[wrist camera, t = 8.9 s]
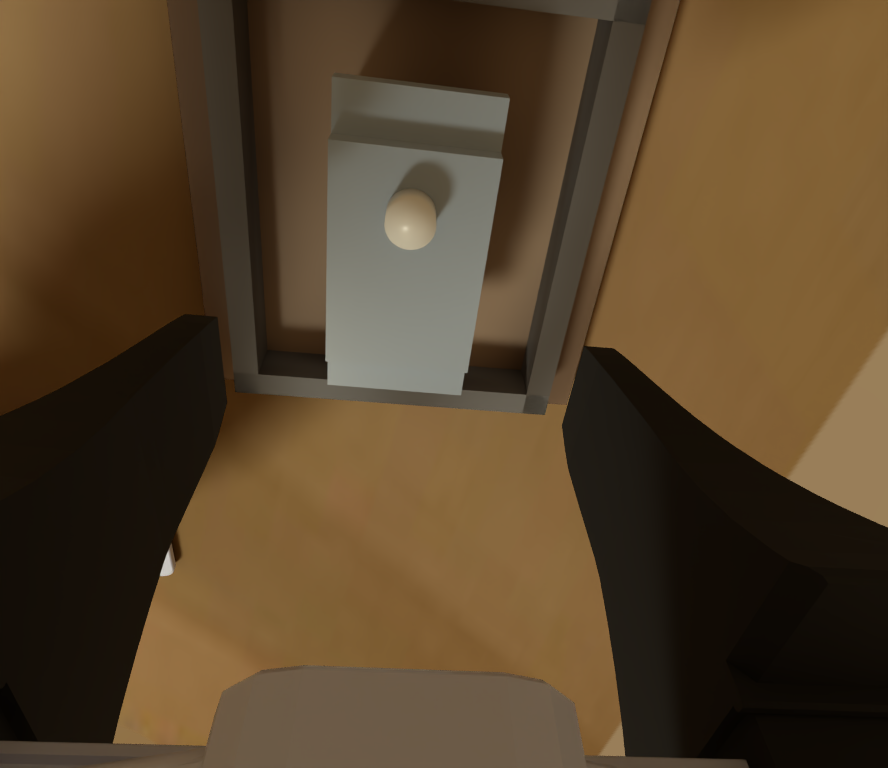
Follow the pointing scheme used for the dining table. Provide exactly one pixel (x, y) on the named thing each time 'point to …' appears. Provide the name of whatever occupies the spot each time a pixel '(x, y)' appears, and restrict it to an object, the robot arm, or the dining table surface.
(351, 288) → the block
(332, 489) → the dining table surface
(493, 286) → the pocket plate
